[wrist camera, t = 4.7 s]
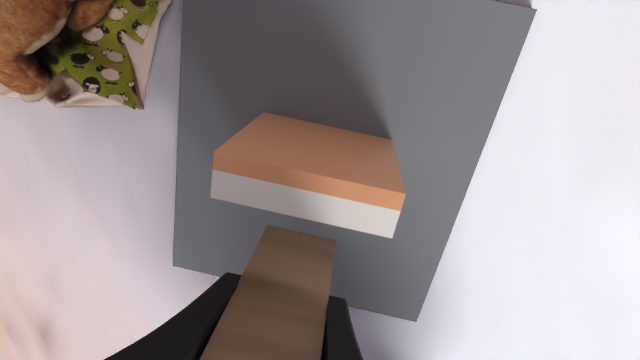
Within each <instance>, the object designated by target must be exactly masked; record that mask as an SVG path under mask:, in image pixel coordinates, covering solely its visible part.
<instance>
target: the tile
mask: <svg viewBox="0 0 640 360" xmlns="http://www.w3.org/2000/svg"><path fill="white" fill-rule="evenodd" d="M405 196H406V192H405V188H404V184H403V180H402V176H401V172H400V169H399V165H398V161H397V157H396V153H395V149H394V145H393V142H392V140H391V139H386V138H381V137H377V136H372V135H368V134H363V133H358V132H354V131H349V130H344V129H340V128H335V127H331V126H326V125H321V124H317V123H312V122H307V121H303V120H298V119H294V118H289V117H284V116H280V115H275V114H271V113H266V112H263V113H262V114H260V115H259V116H258V117H257V118H255V119H254V120H253V121H252V122H250V123H249V124H248V125H247V126H245V127H244V128H243V129H242V130H240V131H239V132H238V133H237V134H235V135H234V136H233V137H232V138H230V139H229V140H228V141H227V142H225V143H224V144H223V145H222V146H220V147H219V148H218V149H217V150H215V151H214V157H213V170H212V183H211V195H210V198H214V199H219V200H223V201H227V202H232V203H236V204H241V205H245V206H250V207H254V208H259V209H263V210H267V211H272V212H276V213H281V214H285V215H290V216H294V217H299V218H303V219H307V220H312V221H316V222H321V223H325V224H330V225H334V226H339V227H343V228H348V229H352V230H356V231H361V232H365V233H370V234H374V235H379V236H383V237H388V238H392V237H393V234H394V231H395V228H396V225H397V221H398V218H399V215H400V212H401V209H402V206H403V202H404V199H405Z"/></svg>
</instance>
